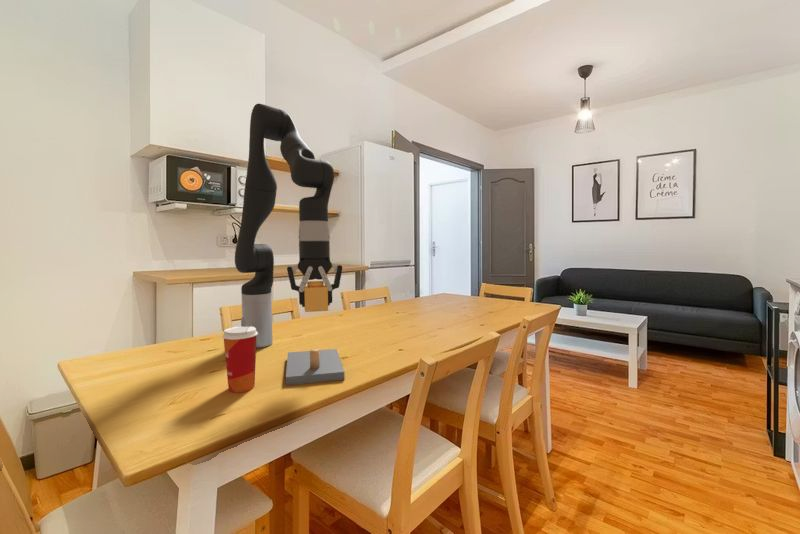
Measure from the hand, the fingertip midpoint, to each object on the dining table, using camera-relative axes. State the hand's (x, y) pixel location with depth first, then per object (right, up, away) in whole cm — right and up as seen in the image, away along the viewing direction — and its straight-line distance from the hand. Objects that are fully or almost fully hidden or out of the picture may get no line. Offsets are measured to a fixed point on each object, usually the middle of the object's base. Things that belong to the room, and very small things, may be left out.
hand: (315, 305), depth 94 cm
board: (-2, -18, +6) cm, 19 cm away
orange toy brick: (0, -1, 0) cm, 1 cm away
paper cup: (-16, -19, -7) cm, 26 cm away
